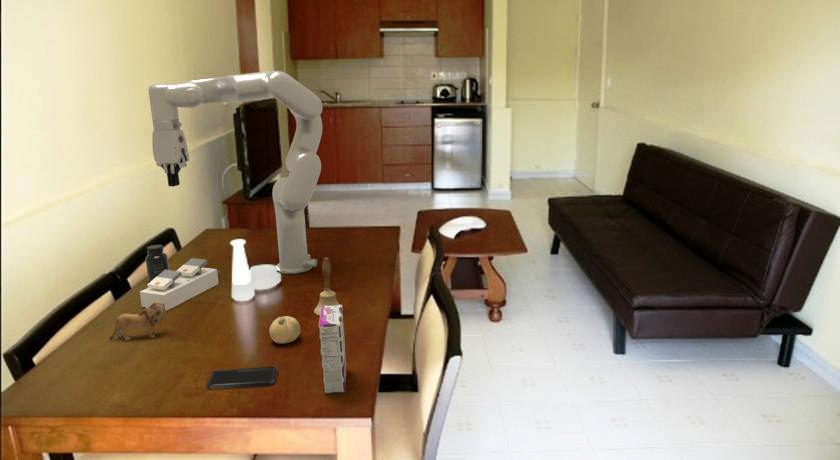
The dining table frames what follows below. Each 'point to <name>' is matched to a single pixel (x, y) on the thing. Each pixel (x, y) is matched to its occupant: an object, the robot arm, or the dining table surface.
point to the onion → (284, 329)
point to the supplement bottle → (156, 261)
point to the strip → (181, 289)
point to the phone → (242, 378)
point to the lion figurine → (141, 320)
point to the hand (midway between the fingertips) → (174, 185)
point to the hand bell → (326, 289)
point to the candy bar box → (332, 348)
